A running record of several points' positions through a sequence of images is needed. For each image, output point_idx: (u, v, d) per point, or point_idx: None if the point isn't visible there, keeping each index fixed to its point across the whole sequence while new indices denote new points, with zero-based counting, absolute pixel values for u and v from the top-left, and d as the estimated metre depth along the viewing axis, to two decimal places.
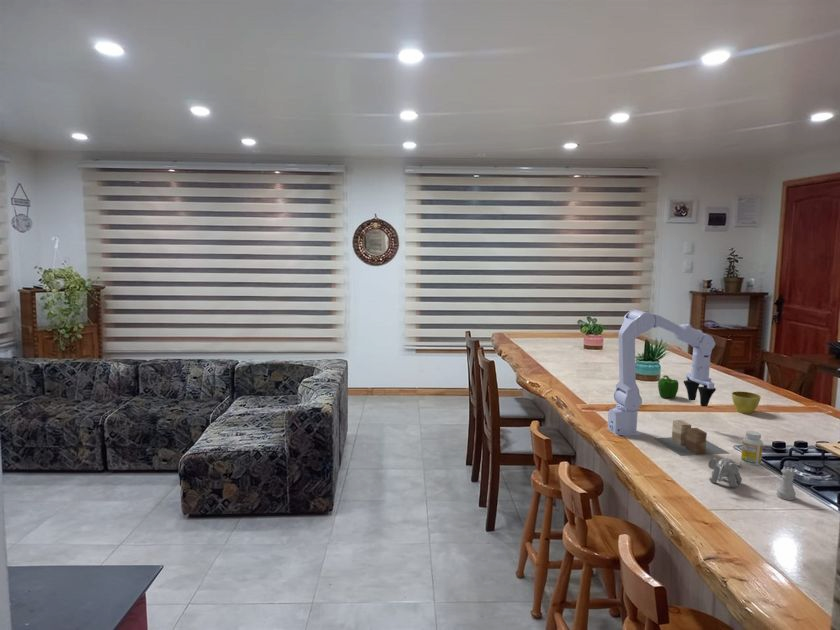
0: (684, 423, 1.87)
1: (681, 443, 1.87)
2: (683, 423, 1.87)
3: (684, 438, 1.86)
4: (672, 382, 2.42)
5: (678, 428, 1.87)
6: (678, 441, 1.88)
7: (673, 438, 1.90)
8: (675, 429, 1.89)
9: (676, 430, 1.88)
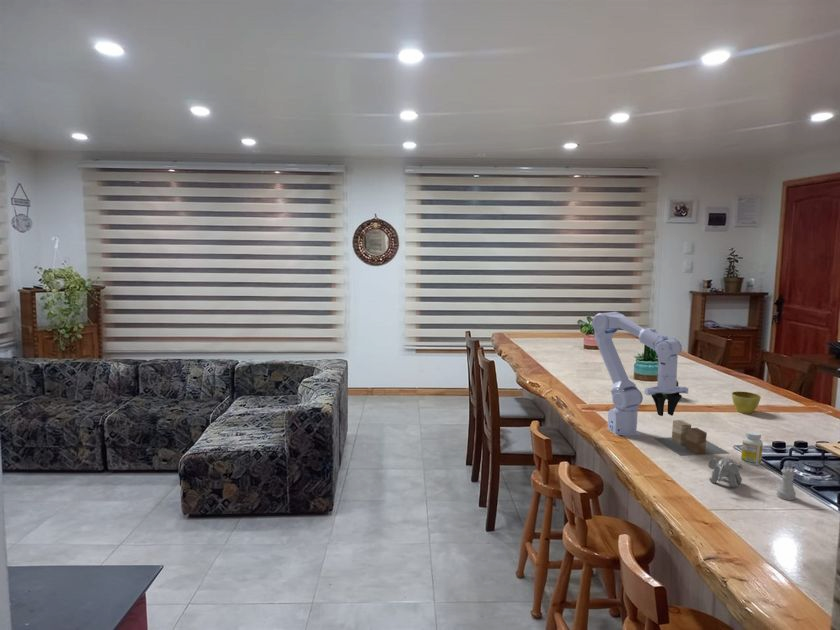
0: (684, 423, 1.87)
1: (681, 443, 1.87)
2: (683, 423, 1.87)
3: (684, 438, 1.86)
4: None
5: (678, 428, 1.87)
6: (678, 441, 1.88)
7: (673, 438, 1.90)
8: (675, 429, 1.89)
9: (676, 430, 1.88)
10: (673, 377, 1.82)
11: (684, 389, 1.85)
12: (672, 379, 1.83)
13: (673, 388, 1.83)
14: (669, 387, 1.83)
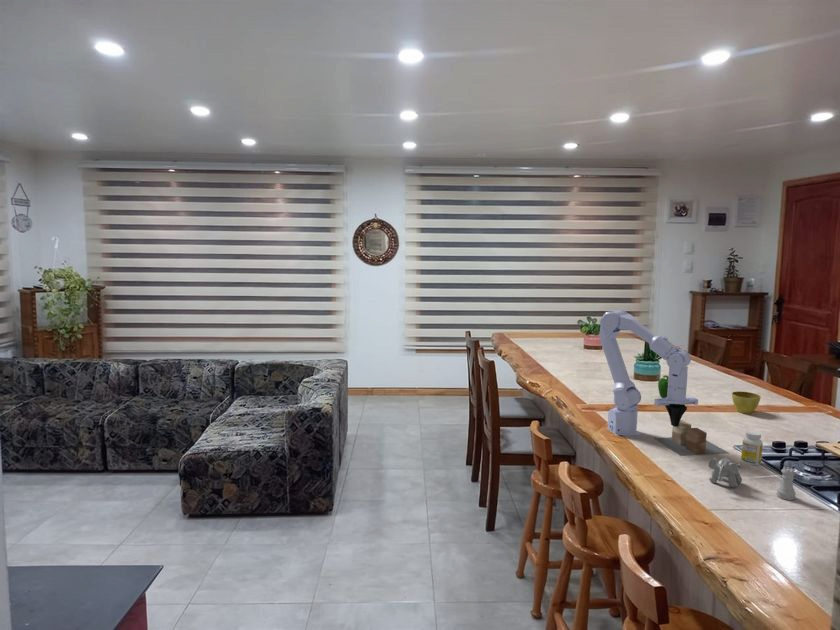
0: (684, 423, 1.87)
1: (681, 443, 1.87)
2: (683, 423, 1.87)
3: (684, 438, 1.86)
4: None
5: (678, 428, 1.87)
6: (678, 441, 1.88)
7: (673, 438, 1.90)
8: (675, 429, 1.89)
9: (676, 430, 1.88)
10: (683, 388, 1.84)
11: (693, 400, 1.86)
12: (682, 390, 1.84)
13: (683, 399, 1.84)
14: (679, 398, 1.84)
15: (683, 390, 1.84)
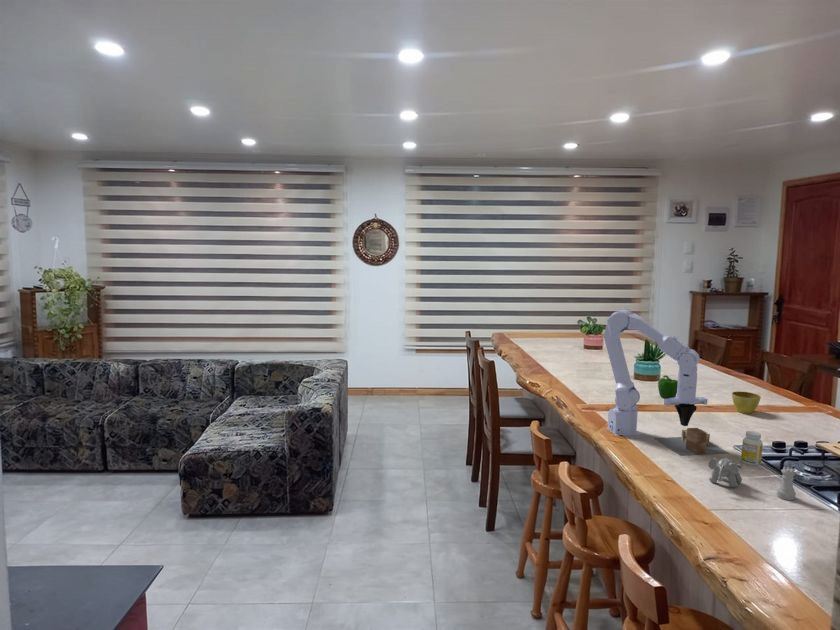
0: None
1: None
2: None
3: None
4: (672, 382, 2.42)
5: None
6: None
7: (685, 430, 1.91)
8: None
9: None
10: (693, 388, 1.84)
11: (703, 400, 1.87)
12: (692, 390, 1.84)
13: (693, 399, 1.85)
14: (689, 398, 1.84)
15: (693, 390, 1.84)
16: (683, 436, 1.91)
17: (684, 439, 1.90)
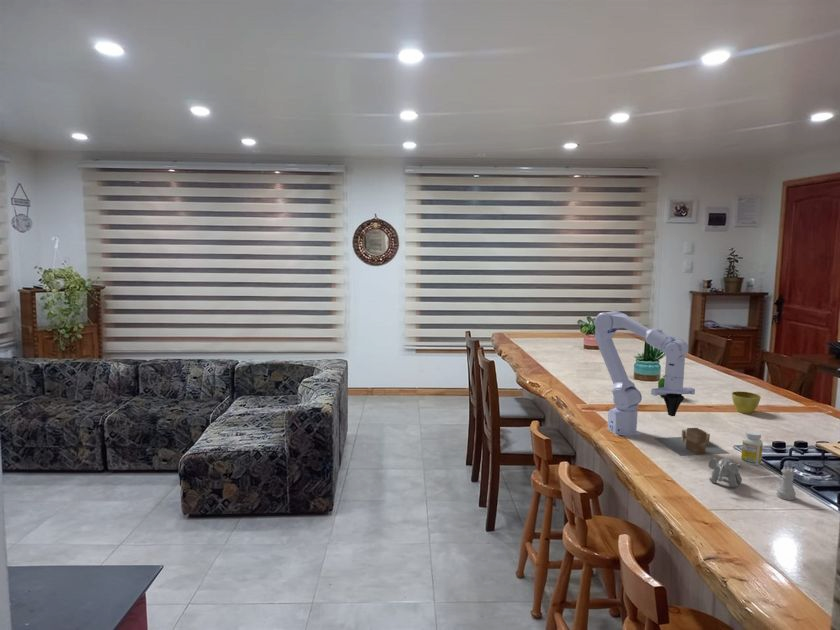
0: None
1: None
2: None
3: None
4: None
5: None
6: None
7: (685, 430, 1.91)
8: None
9: None
10: (680, 378, 1.83)
11: (690, 390, 1.86)
12: (679, 380, 1.83)
13: (680, 389, 1.84)
14: (676, 388, 1.83)
15: (680, 379, 1.83)
16: (683, 436, 1.91)
17: (684, 439, 1.90)
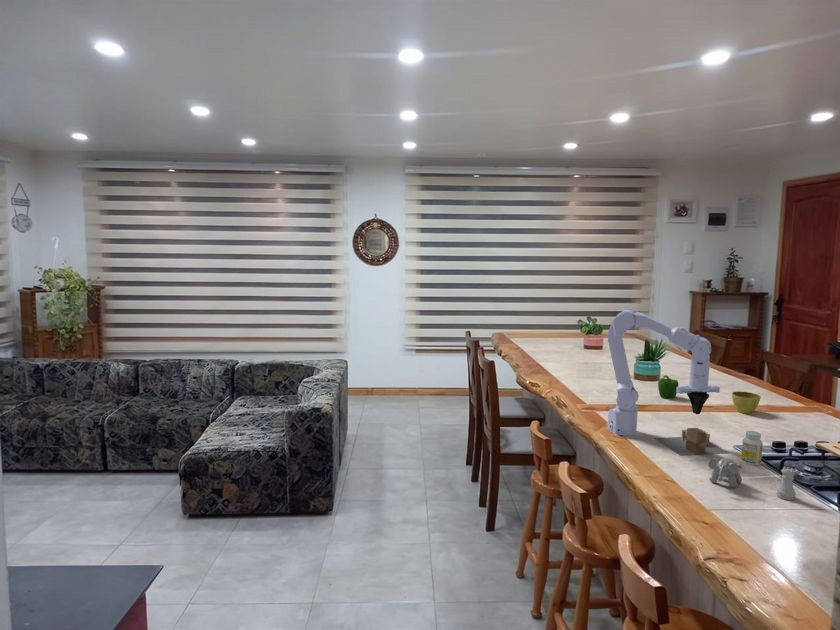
0: None
1: None
2: None
3: None
4: (672, 382, 2.42)
5: None
6: None
7: (685, 430, 1.91)
8: None
9: None
10: (705, 376, 1.84)
11: (715, 388, 1.87)
12: (704, 378, 1.84)
13: (705, 387, 1.85)
14: (701, 386, 1.85)
15: (705, 378, 1.84)
16: (683, 436, 1.91)
17: (684, 439, 1.90)
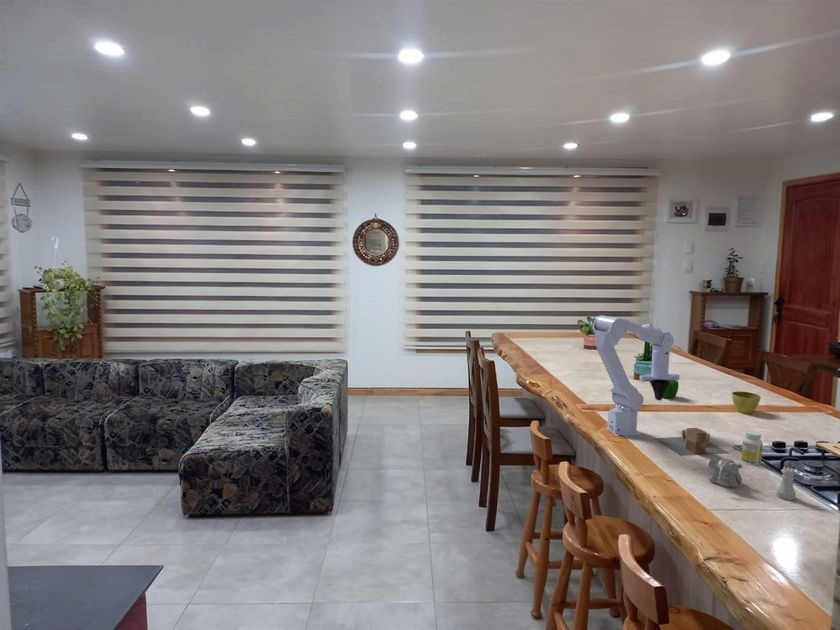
0: None
1: None
2: None
3: None
4: (672, 382, 2.42)
5: None
6: None
7: (685, 430, 1.91)
8: None
9: None
10: (665, 365, 2.00)
11: (675, 376, 2.03)
12: (664, 367, 2.00)
13: (665, 375, 2.01)
14: (662, 374, 2.01)
15: (665, 366, 2.01)
16: (683, 436, 1.91)
17: (684, 439, 1.90)
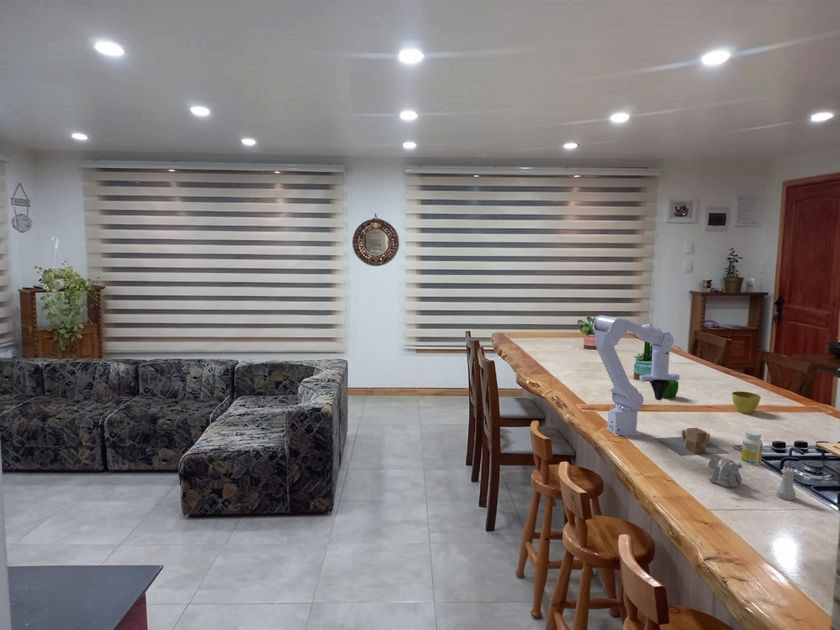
0: None
1: None
2: None
3: None
4: (672, 382, 2.42)
5: None
6: None
7: (685, 430, 1.91)
8: None
9: None
10: (665, 365, 2.00)
11: (675, 376, 2.03)
12: (664, 367, 2.00)
13: (665, 375, 2.01)
14: (662, 374, 2.01)
15: (665, 366, 2.01)
16: (683, 436, 1.91)
17: (684, 439, 1.90)
